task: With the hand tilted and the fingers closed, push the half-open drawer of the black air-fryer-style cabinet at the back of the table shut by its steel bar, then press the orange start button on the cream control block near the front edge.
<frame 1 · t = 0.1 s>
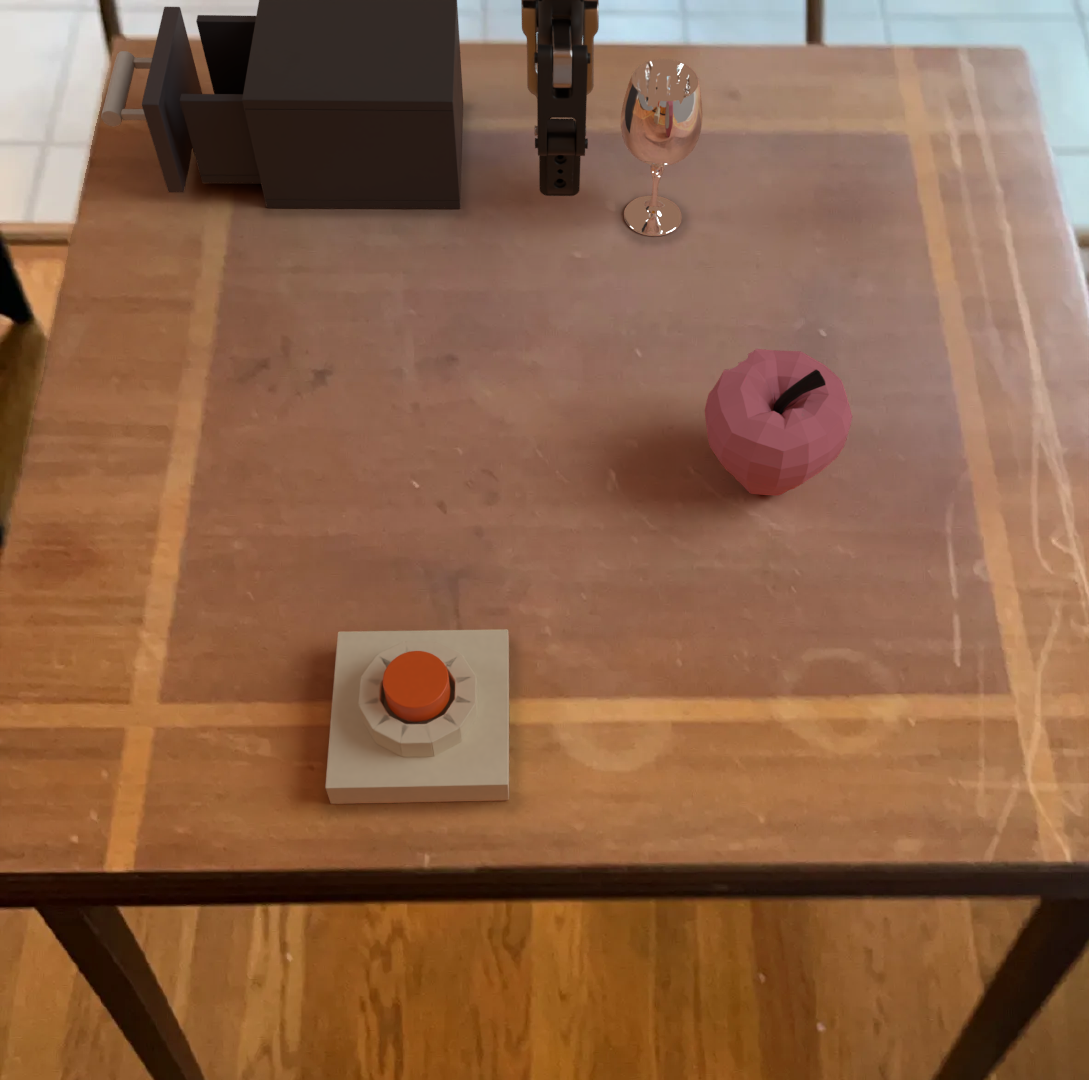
hand: (557, 141, 74), 19 cm above the table, tool pointing down, fingers open, 8 cm apart
start button: (416, 686, 72), point 4 cm above the table, slide at 0.1 cm
apple: (764, 476, 87), on the table
wineglass: (652, 218, 100), on the table
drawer: (231, 100, 98), point 5 cm above the table, slide at 6.0 cm
control block: (423, 722, 76), on the table
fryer: (368, 153, 102), on the table
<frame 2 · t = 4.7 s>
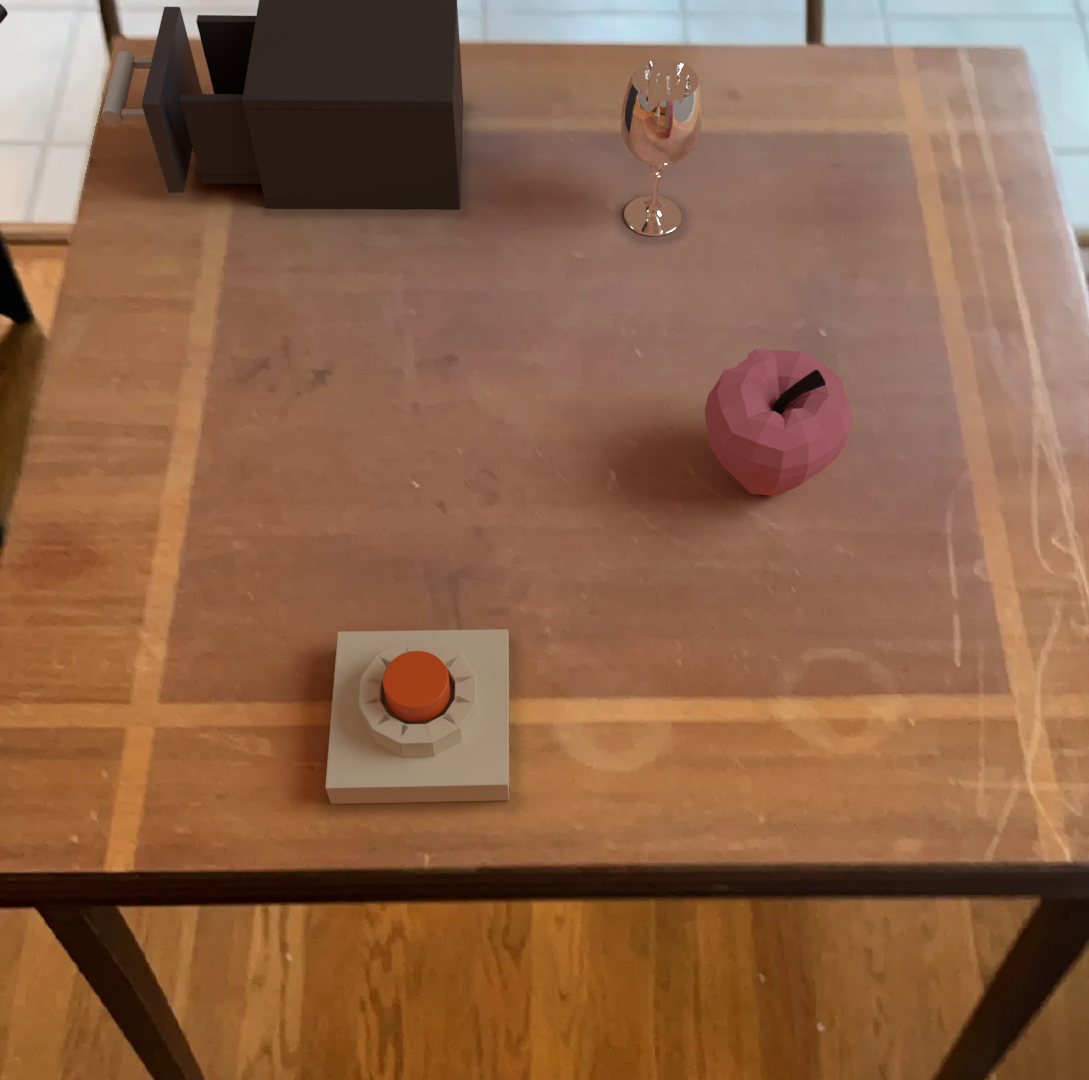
nothing on the table moved.
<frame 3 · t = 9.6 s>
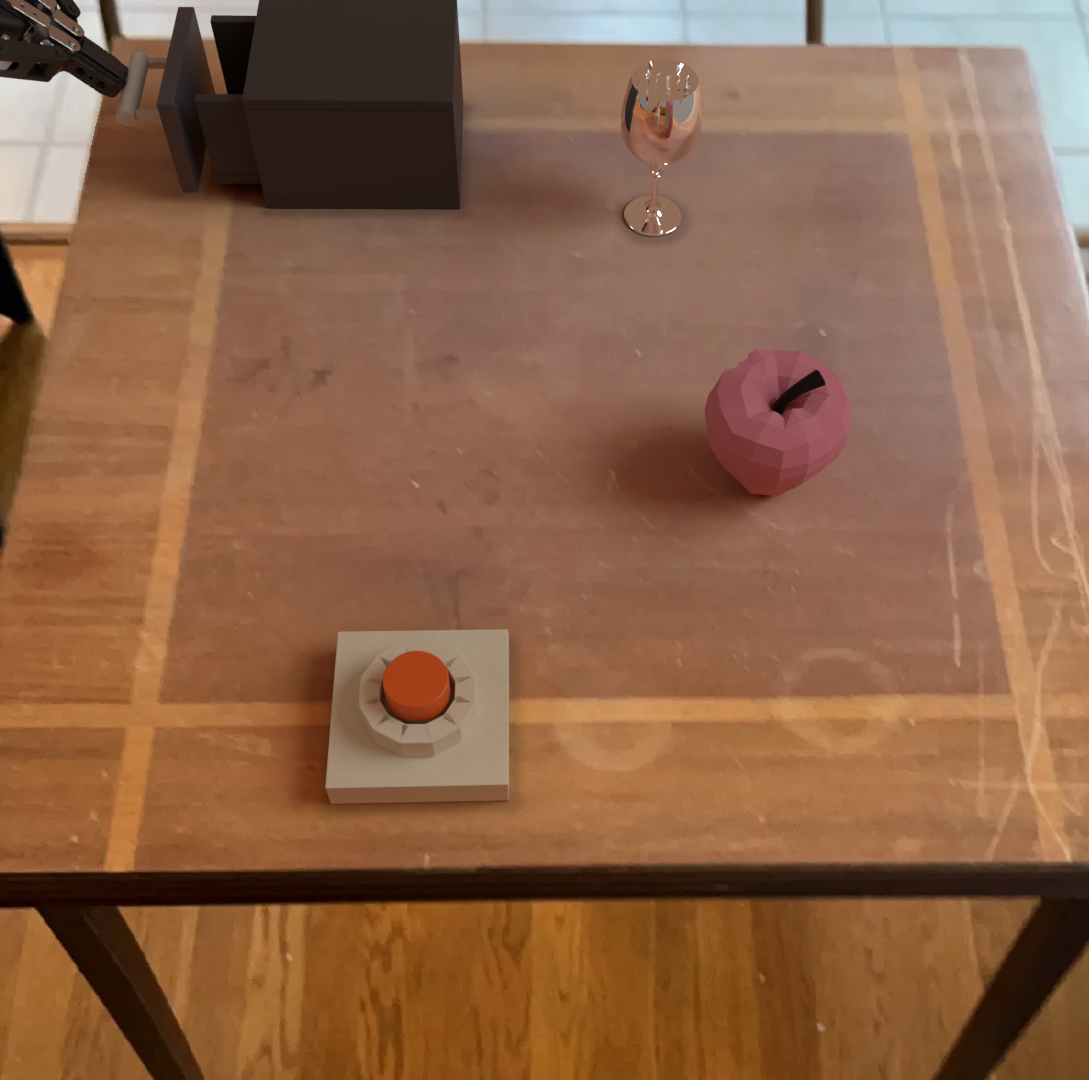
hand: (121, 84, 96), 6 cm above the table, tool tilted 45°, fingers closed
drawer: (244, 100, 98), point 5 cm above the table, slide at 5.0 cm, touching gripper
everything else where it was.
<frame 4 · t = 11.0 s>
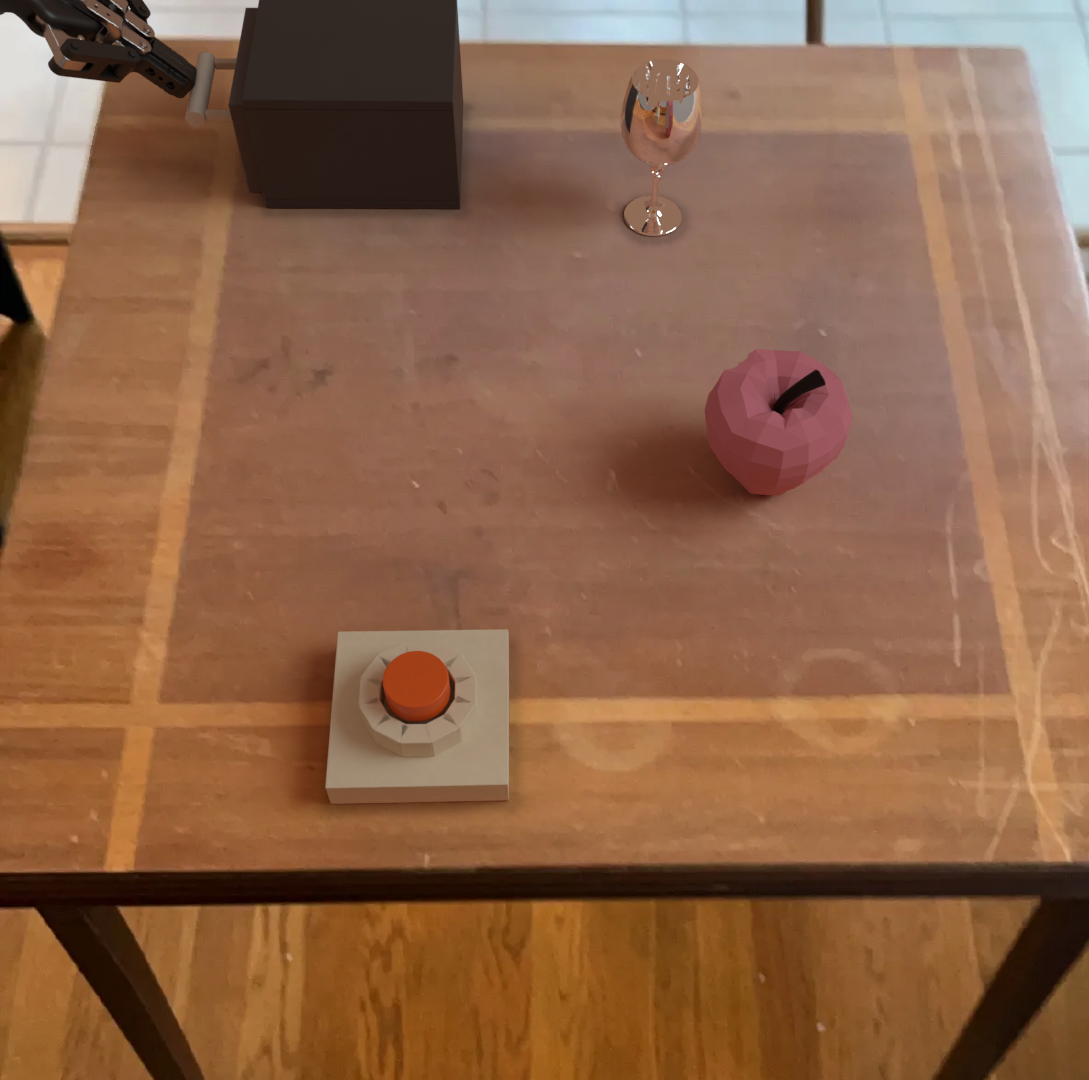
hand: (190, 85, 96), 6 cm above the table, tool tilted 45°, fingers closed
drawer: (311, 101, 98), point 5 cm above the table, slide at 0.0 cm, touching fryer, gripper
everything else where it was.
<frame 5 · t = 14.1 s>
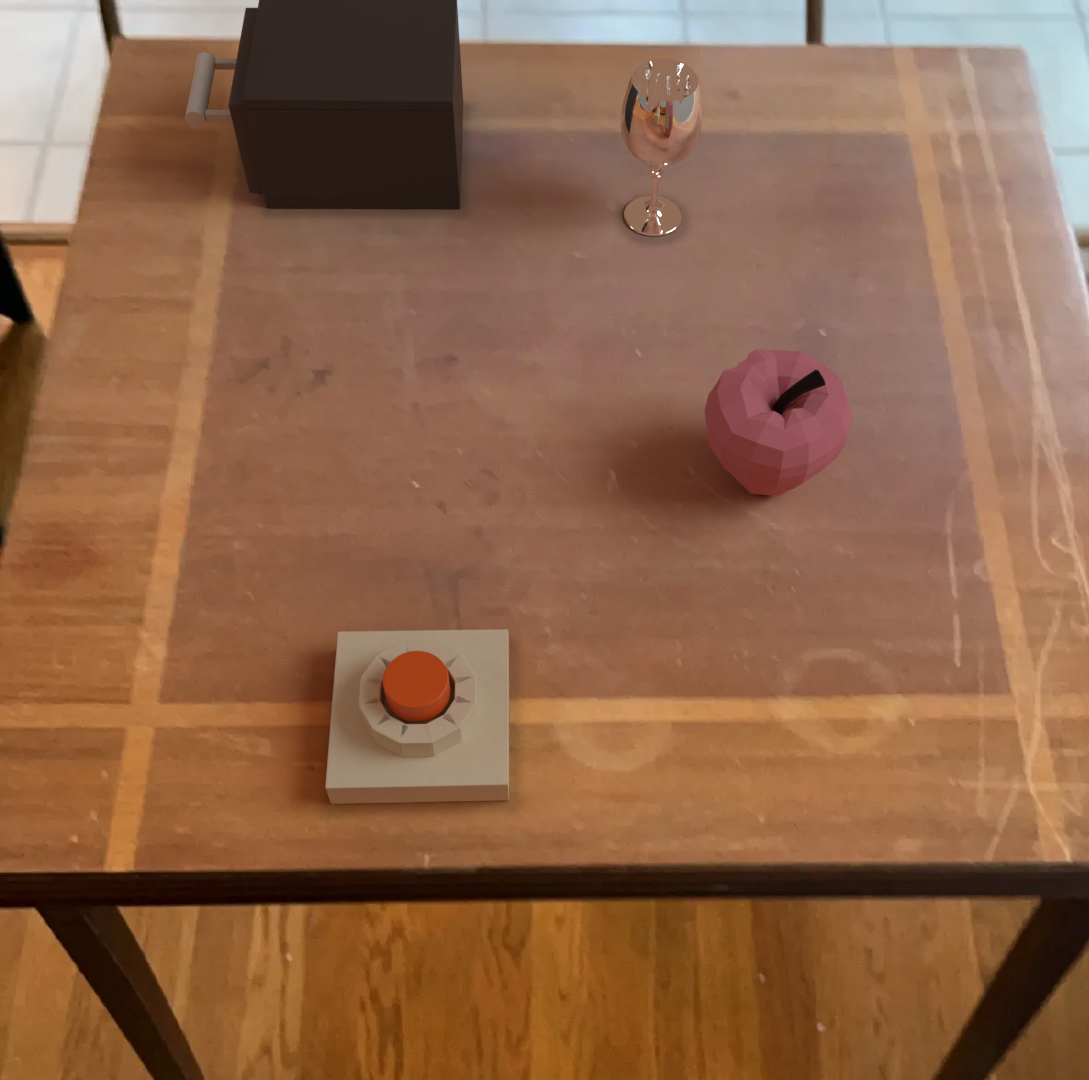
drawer: (311, 101, 98), point 5 cm above the table, slide at 0.0 cm, touching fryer
everything else where it was.
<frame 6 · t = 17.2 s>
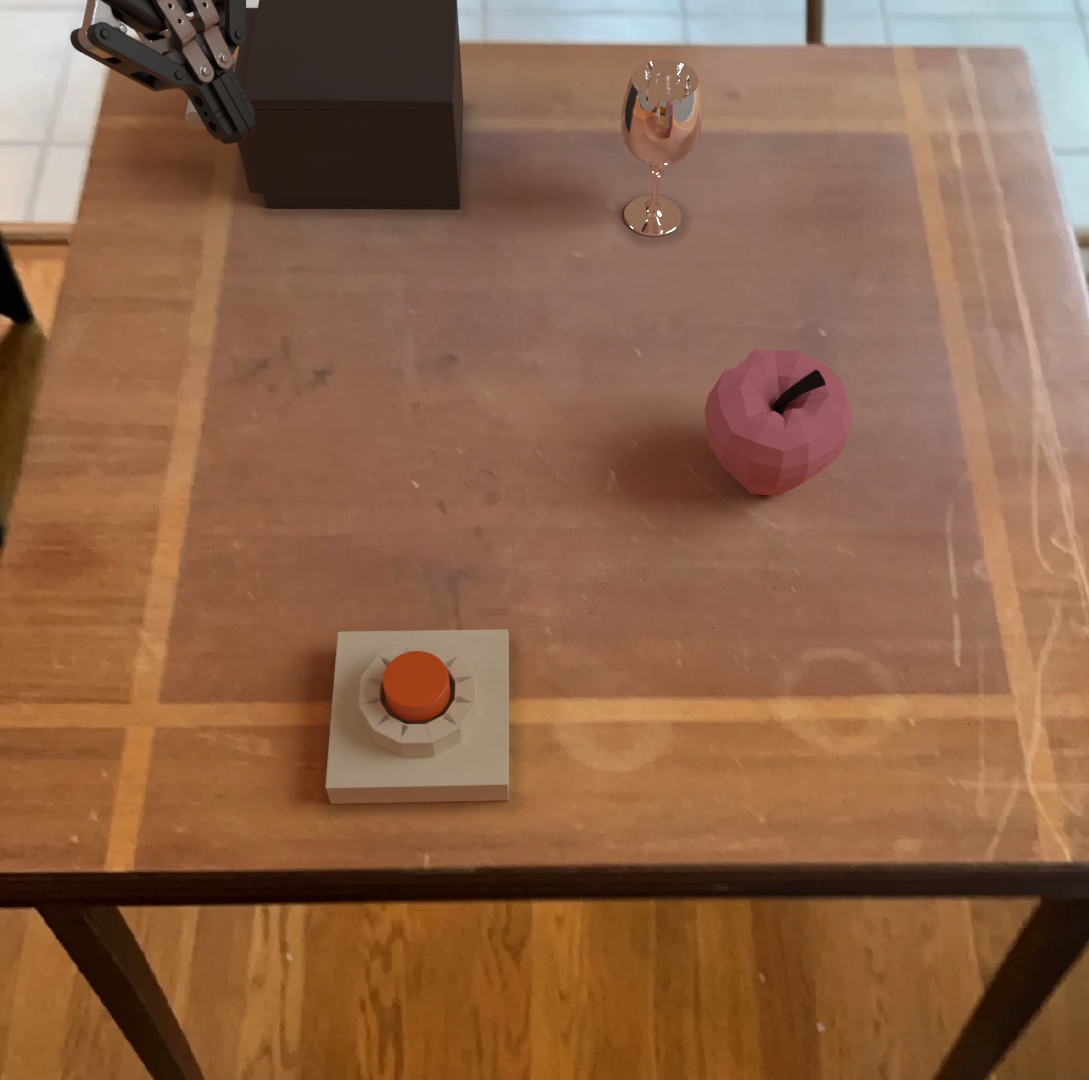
hand: (240, 136, 80), 15 cm above the table, tool tilted 30°, fingers closed
nothing on the table moved.
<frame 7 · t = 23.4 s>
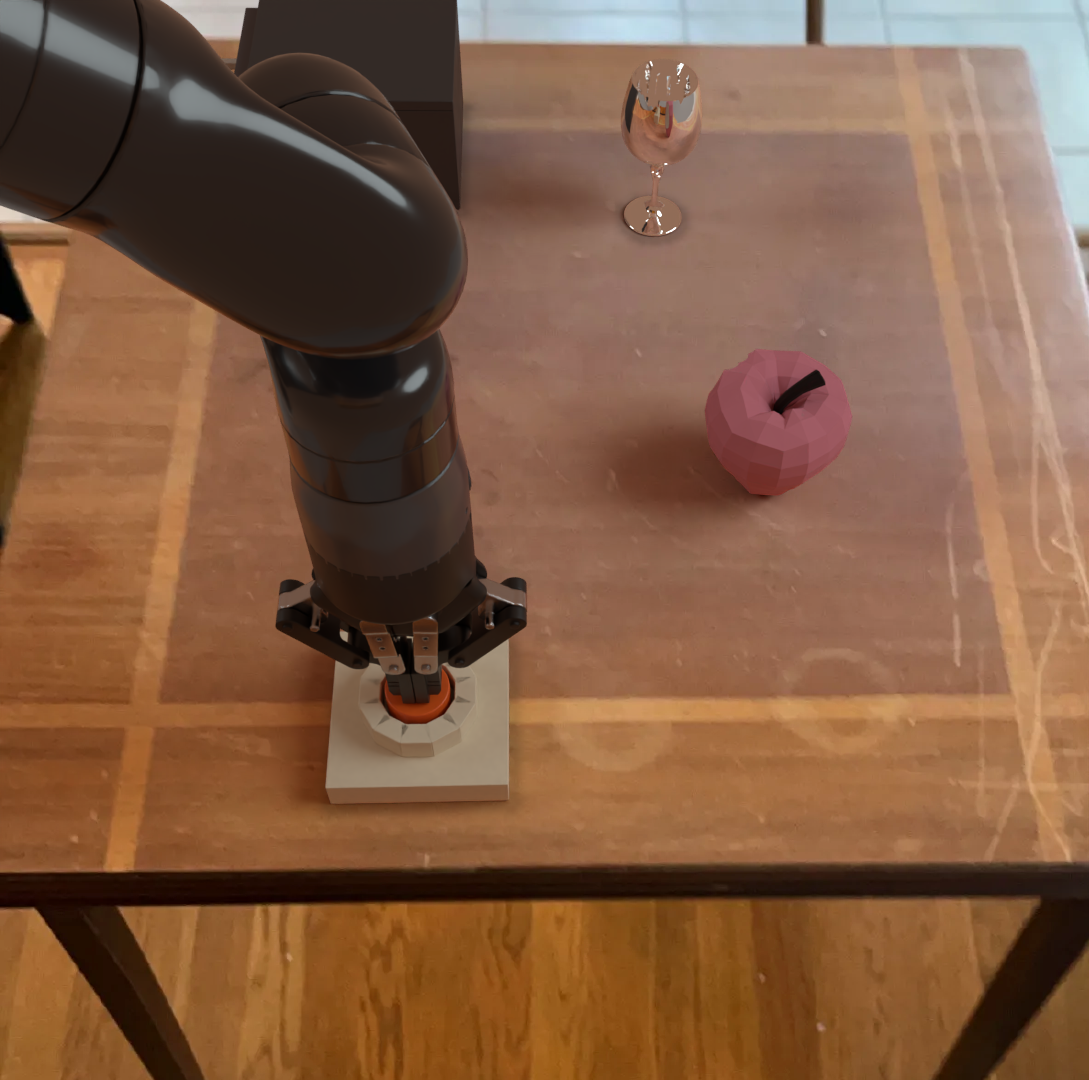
hand: (417, 688, 72), 4 cm above the table, tool pointing down, fingers closed
start button: (418, 694, 73), point 4 cm above the table, slide at -0.8 cm, touching gripper
everything else where it was.
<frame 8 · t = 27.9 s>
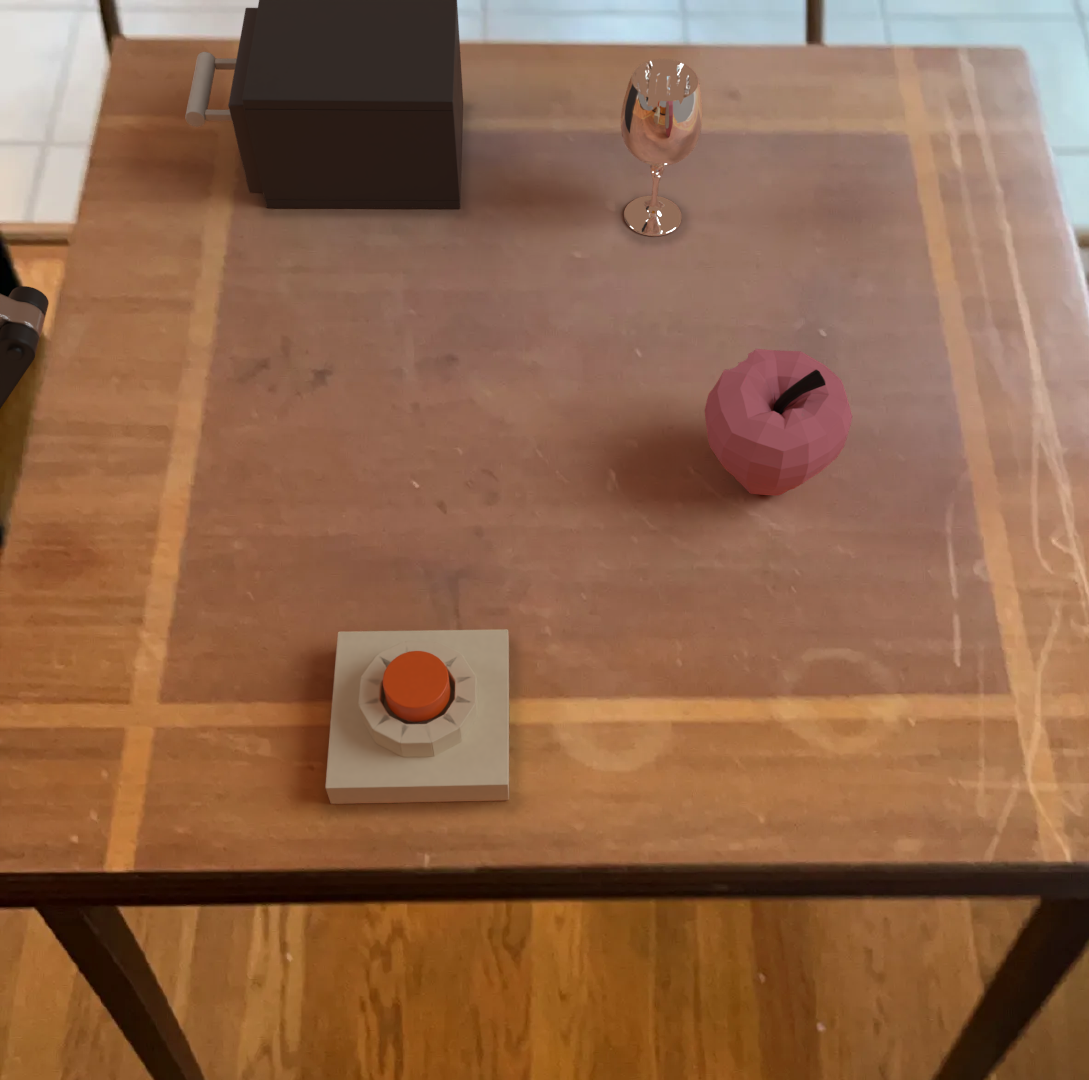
start button: (416, 686, 72), point 4 cm above the table, slide at 0.1 cm
everything else where it was.
at the end: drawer slide at 0.0 cm; start button pushed in 1.1 cm at the most during the clip, back to where it started at the end; start button slide at 0.1 cm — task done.
